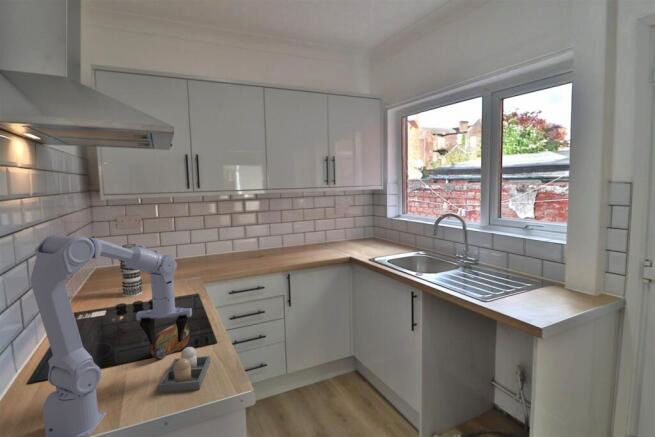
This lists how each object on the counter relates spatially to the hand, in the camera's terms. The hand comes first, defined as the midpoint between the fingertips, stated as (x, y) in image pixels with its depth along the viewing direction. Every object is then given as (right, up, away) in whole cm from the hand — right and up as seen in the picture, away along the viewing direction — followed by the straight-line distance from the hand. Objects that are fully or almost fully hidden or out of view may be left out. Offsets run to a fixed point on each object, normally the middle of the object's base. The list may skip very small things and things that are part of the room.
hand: (166, 341), depth 102 cm
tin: (-4, -8, +14) cm, 16 cm away
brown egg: (+7, -9, -5) cm, 13 cm away
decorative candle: (-50, -2, +74) cm, 90 cm away
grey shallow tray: (+7, -10, -2) cm, 12 cm away
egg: (+6, -9, +1) cm, 11 cm away
